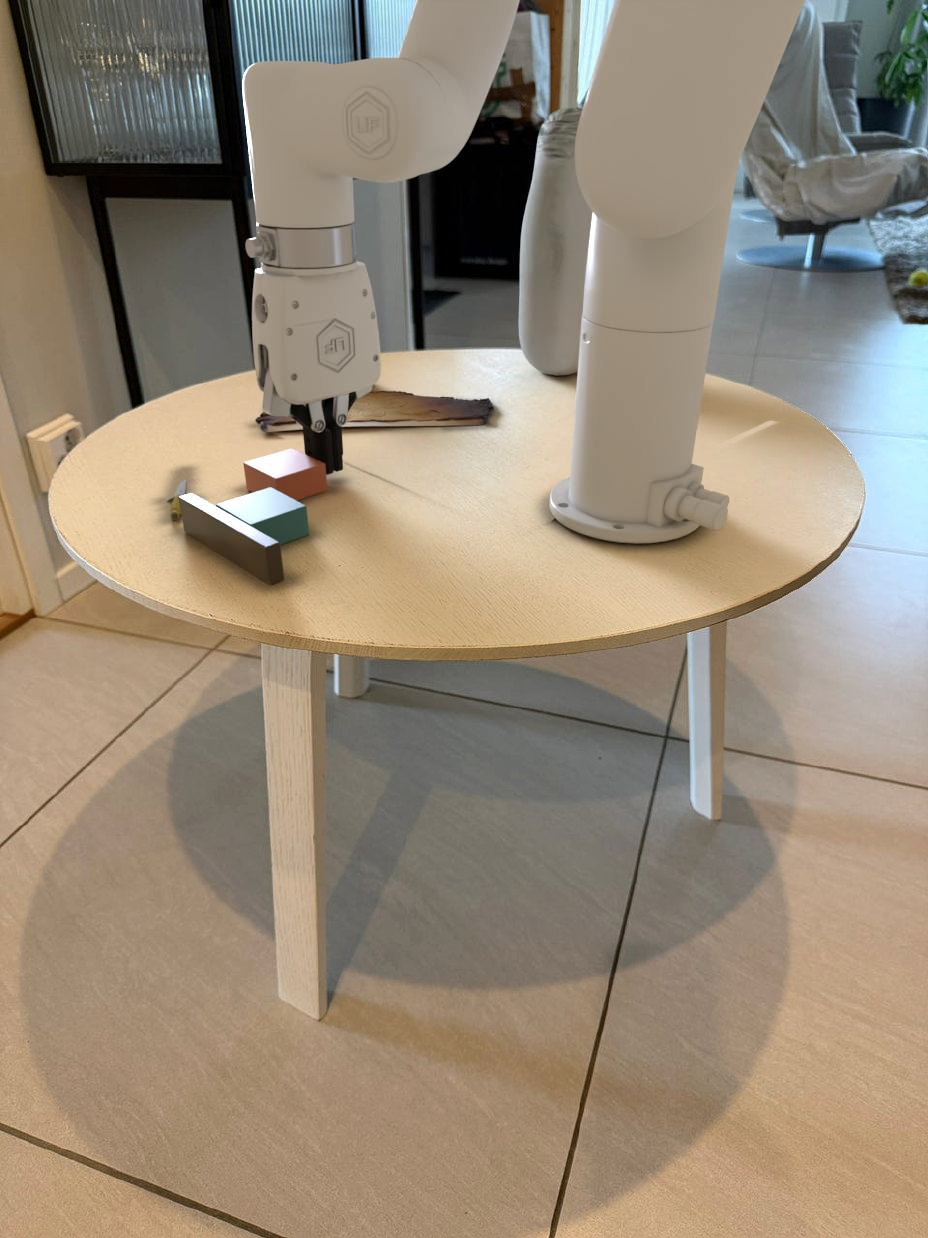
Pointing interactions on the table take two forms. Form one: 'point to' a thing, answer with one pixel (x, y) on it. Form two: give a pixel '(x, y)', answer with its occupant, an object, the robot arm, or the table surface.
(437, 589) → the table surface
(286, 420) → the parchment
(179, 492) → the dagger
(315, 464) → the tile
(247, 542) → the stop bar
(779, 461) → the table surface
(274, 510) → the tile
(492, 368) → the table surface
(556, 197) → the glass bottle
